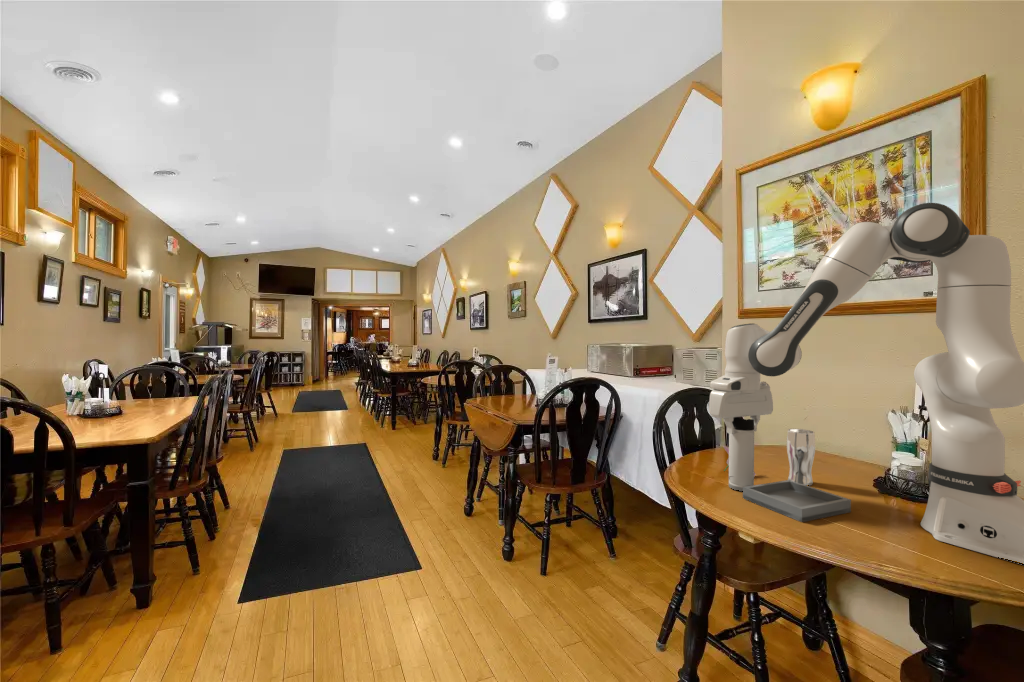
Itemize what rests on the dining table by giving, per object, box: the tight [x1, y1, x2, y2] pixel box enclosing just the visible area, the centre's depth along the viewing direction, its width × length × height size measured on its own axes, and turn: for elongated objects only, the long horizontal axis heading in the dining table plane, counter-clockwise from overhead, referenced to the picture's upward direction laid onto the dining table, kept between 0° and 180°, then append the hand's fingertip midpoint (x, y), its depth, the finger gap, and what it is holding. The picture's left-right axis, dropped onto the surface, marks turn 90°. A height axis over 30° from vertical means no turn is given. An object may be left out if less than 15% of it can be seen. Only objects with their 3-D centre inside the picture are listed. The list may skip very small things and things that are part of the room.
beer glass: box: [786, 428, 816, 486], centre depth 132 cm, size 7×7×15 cm
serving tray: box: [742, 479, 852, 523], centre depth 114 cm, size 16×17×3 cm
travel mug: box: [728, 417, 755, 492], centre depth 126 cm, size 6×7×20 cm
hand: (741, 432), depth 126 cm, fingers closed on travel mug, 6 cm apart
